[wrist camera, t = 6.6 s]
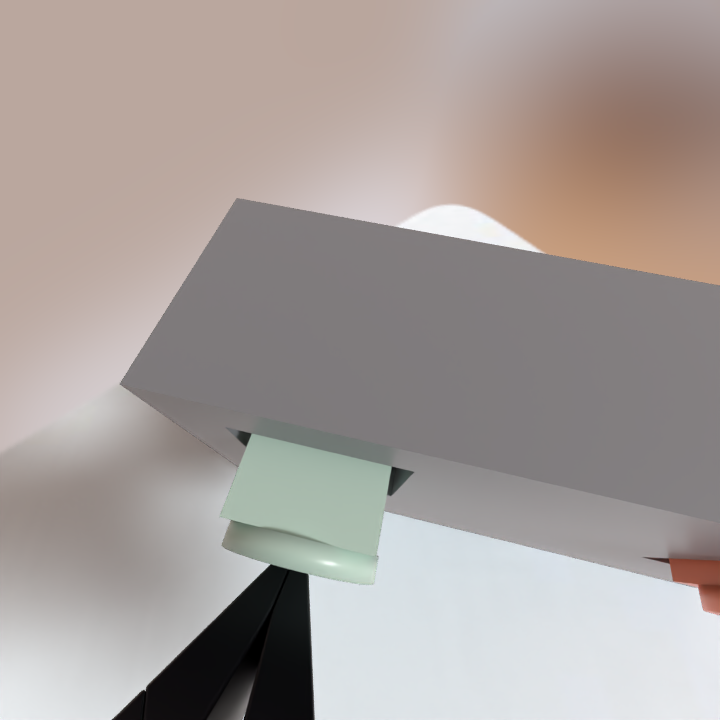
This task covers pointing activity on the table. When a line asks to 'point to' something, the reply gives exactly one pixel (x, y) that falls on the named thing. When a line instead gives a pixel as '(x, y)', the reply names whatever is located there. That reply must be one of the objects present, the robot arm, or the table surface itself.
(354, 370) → the control box
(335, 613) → the table surface
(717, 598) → the button red
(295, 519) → the button green
